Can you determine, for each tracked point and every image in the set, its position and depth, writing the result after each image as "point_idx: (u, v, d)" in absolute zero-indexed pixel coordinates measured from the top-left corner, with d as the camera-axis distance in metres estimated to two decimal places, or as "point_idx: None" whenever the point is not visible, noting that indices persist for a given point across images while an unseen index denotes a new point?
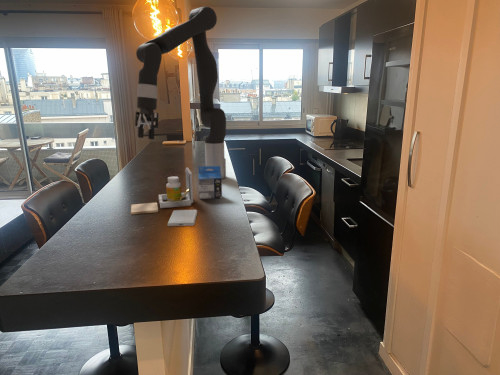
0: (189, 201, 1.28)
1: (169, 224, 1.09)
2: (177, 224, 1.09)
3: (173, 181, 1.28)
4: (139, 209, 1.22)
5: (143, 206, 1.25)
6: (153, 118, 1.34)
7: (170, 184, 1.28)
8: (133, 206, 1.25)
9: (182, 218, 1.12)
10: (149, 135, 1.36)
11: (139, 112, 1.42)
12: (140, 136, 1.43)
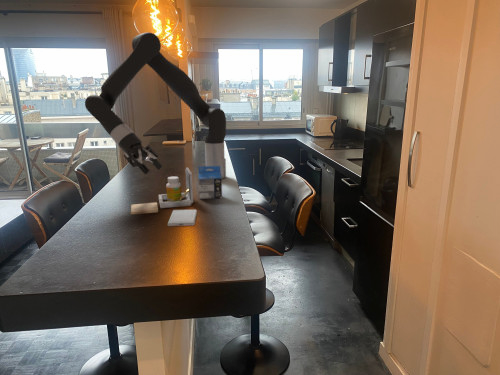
0: (189, 201, 1.28)
1: (169, 224, 1.09)
2: (177, 224, 1.09)
3: (173, 181, 1.28)
4: (139, 209, 1.22)
5: (143, 206, 1.25)
6: (127, 159, 1.26)
7: (170, 184, 1.28)
8: (133, 206, 1.25)
9: (182, 218, 1.12)
10: None
11: None
12: (159, 168, 1.35)
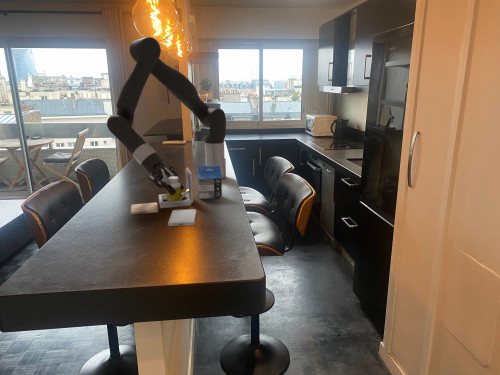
0: (189, 201, 1.28)
1: (169, 224, 1.09)
2: (177, 224, 1.09)
3: (173, 181, 1.28)
4: (139, 209, 1.22)
5: (143, 206, 1.25)
6: (153, 181, 1.25)
7: (170, 184, 1.28)
8: (133, 206, 1.25)
9: (183, 218, 1.13)
10: (169, 192, 1.28)
11: None
12: None
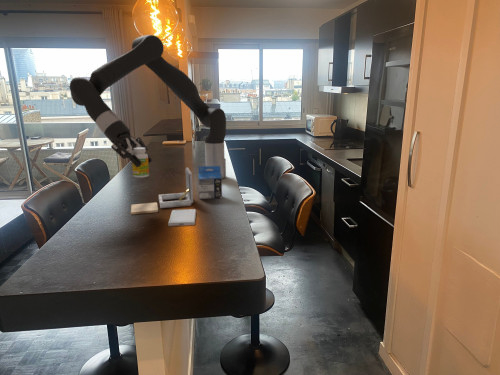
0: (189, 201, 1.28)
1: (170, 224, 1.09)
2: (178, 224, 1.09)
3: (138, 151, 1.17)
4: (139, 209, 1.22)
5: (143, 206, 1.25)
6: (116, 150, 1.14)
7: (135, 155, 1.18)
8: (133, 206, 1.25)
9: (183, 218, 1.13)
10: None
11: None
12: (148, 162, 1.22)
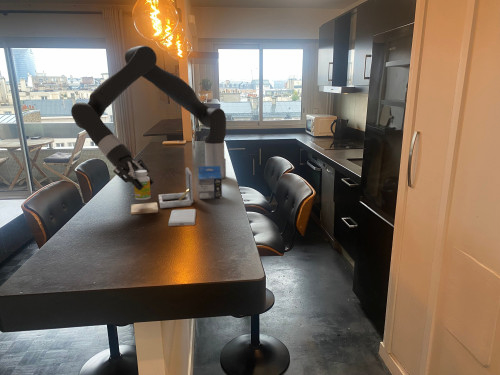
0: (189, 201, 1.28)
1: (170, 224, 1.09)
2: (178, 224, 1.09)
3: (140, 175, 1.19)
4: (139, 209, 1.22)
5: (143, 206, 1.25)
6: (118, 175, 1.16)
7: (137, 178, 1.20)
8: (133, 206, 1.25)
9: (183, 218, 1.13)
10: None
11: None
12: None
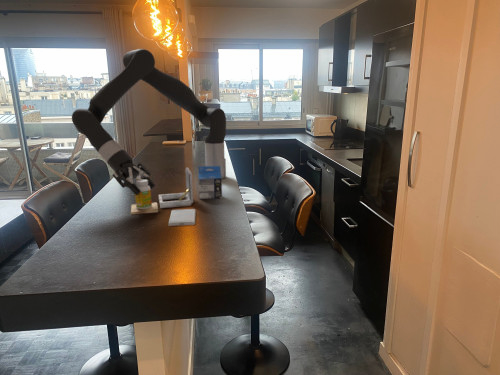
0: (189, 201, 1.28)
1: (170, 224, 1.09)
2: (178, 223, 1.09)
3: (141, 184, 1.20)
4: (139, 209, 1.22)
5: None
6: (116, 179, 1.16)
7: (138, 187, 1.21)
8: (133, 206, 1.25)
9: (183, 218, 1.13)
10: None
11: None
12: (151, 187, 1.26)
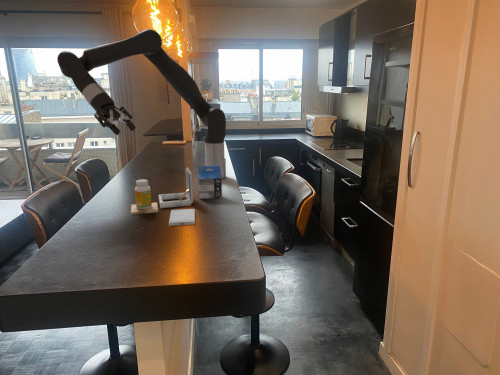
0: (189, 201, 1.28)
1: (170, 224, 1.09)
2: (178, 223, 1.09)
3: (141, 184, 1.20)
4: (139, 209, 1.22)
5: None
6: (97, 119, 1.25)
7: (138, 187, 1.21)
8: (133, 206, 1.25)
9: (183, 218, 1.13)
10: None
11: None
12: (132, 129, 1.34)
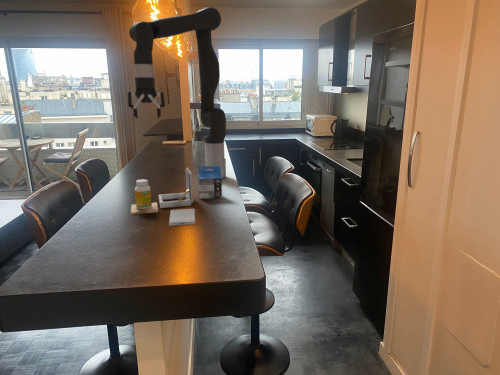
0: (189, 201, 1.28)
1: (170, 223, 1.09)
2: (179, 223, 1.10)
3: (141, 184, 1.20)
4: (139, 209, 1.22)
5: None
6: None
7: (138, 187, 1.21)
8: (133, 206, 1.25)
9: (183, 217, 1.13)
10: None
11: None
12: (157, 116, 1.45)
